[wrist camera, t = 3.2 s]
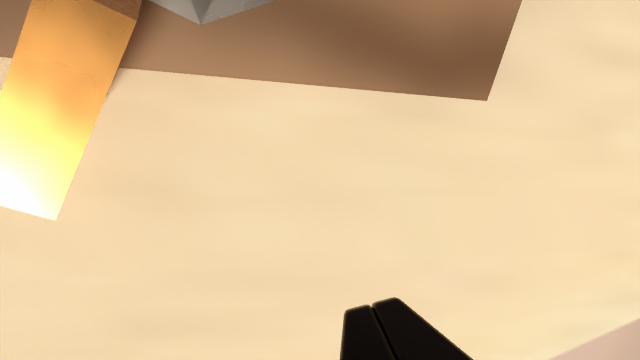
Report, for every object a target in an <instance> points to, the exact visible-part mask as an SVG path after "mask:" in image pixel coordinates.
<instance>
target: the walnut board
mask: <svg viewBox="0 0 640 360" xmlns="http://www.w3.org/2000/svg"><path fill="white" fill-rule="evenodd" d="M31 1H32V0H0V57H7V58H13V56H14V53H15V50H16V47H17V44H18V40H19V37H20V34H21V31H22V28H23V25H24V22H25V19H26V16H27V13H28V10H29V7H30V4H31ZM521 2H522V0H276V1H273V2H270V3H267V4H264V5H261V6H258V7H255V8H251V9H248V10H245V11H242V12H239V13H236V14H233V15H230V16H227V17H224V18H221V19H218V20H215V21H212V22H209V23H206V24H203V25H199V24H197V23H195V22H193V21H191V20H189V19H187V18H185V17H183V16H181V15H179V14H177V13H175V12H173V11H170V10H168V9H166V8H164V7H162V6H160V5H158V4H156V3H154V2H152V1H150V0H142V2H141V6H140V11H139V15H138V19H137V22H136V25H135V27H134V30H133V32H132V34H131V37H130V39H129V42H128V44H127V47H126V49H125V51H124V54H123V56H122V59H121V61H120V64H119V66H118V68H129V69H140V70H151V71H162V72H173V73H184V74H195V75H206V76H218V77H229V78H240V79H251V80H262V81H273V82H284V83H295V84H306V85H317V86H328V87H339V88H350V89H361V90H372V91H383V92H395V93H406V94H417V95H428V96H439V97H450V98H461V99H472V100H483V101H487V99H488V96H489V93H490V90H491V88H492V85H493V82H494V79H495V76H496V73H497V70H498V68H499V65H500V62H501V59H502V56H503V53H504V50H505V47H506V45H507V42H508V39H509V36H510V33H511V30H512V27H513V25H514V22H515V19H516V16H517V13H518V10H519V7H520V5H521Z"/></svg>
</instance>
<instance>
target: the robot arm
mask: <svg viewBox="0 0 640 360" xmlns="http://www.w3.org/2000/svg"><path fill="white" fill-rule="evenodd" d="M340 360H473V359H472V358H471V357H469V356H468V355H467V354H466V353H465V352H463V351H462V350H461V349H460V348H458V347H457V346H456V345H455V344H454V343H452V342H451V341H450V340H449V339H447V338H446V337H445V336H444V335H443V334H441V333H440V332H439V331H438V330H437V329H435V328H434V327H433V326H432V325H430V324H429V323H428V322H427V321H426V320H424V319H423V318H422V317H421V316H420V315H418V314H417V313H416V312H415V311H413V310H412V309H411V308H410V307H409V306H407V305H406V304H405V303H404V302H402V301H401V300H400V299H398V298H395V297H394V298H389V299H385V300H382V301H378V302H375V303H373V304H372V307H371V306H370V305H363V306H359V307H355V308H351V309H348V310H346V311H345V313H344V321H343V331H342V341H341V352H340Z"/></svg>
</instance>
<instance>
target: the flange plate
mask: <svg viewBox="0 0 640 360" xmlns="http://www.w3.org/2000/svg"><path fill="white" fill-rule="evenodd" d="M150 1H152V2H154V3H156V4H158V5H160V6H162V7H164V8H166V9H168V10H170V11H173V12H175V13H177V14H179V15H181V16H183V17H185V18H187V19H189V20H191V21H193V22H195V23H197V24H199V25H203V24H206V23H209V22H212V21H215V20H218V19H221V18H224V17H227V16H230V15H233V14H236V13H239V12H242V11H245V10H248V9H251V8H255V7H258V6H261V5H264V4H267V3H270V2H273V1H276V0H150ZM141 2H142V0H32V1H31V4H30V7H29V10H28V13H27V16H26V19H25V22H24V25H23V28H22V31H21V34H20V37H19V40H18V44H17V47H16V50H15V53H14V56H13V59H12V62H11V65H10V68H9V71H8V74H7V77H6V80H5V83H4V86H3V89H2V92H1V96H0V205H2V206H5V207H9V208H12V209H16V210H20V211H23V212H27V213H30V214H34V215H37V216H41V217H44V218H48V219H51V220H56V217H57V215H58V212H59V210H60V207H61V205H62V203H63V200H64V198H65V195H66V193H67V190H68V188H69V185H70V183H71V181H72V178H73V176H74V173H75V171H76V168H77V166H78V164H79V161H80V159H81V156H82V154H83V151H84V149H85V146H86V144H87V142H88V139H89V137H90V134H91V132H92V129H93V127H94V125H95V122H96V120H97V117H98V115H99V112H100V110H101V107H102V105H103V103H104V100H105V98H106V95H107V93H108V90H109V88H110V86H111V83H112V81H113V78H114V76H115V73H116V71H117V69H118V66H119V64H120V61H121V59H122V56H123V54H124V51H125V49H126V47H127V44H128V42H129V39H130V37H131V34H132V32H133V30H134V27H135V25H136V22H137V19H138V15H139V11H140V6H141Z"/></svg>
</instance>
